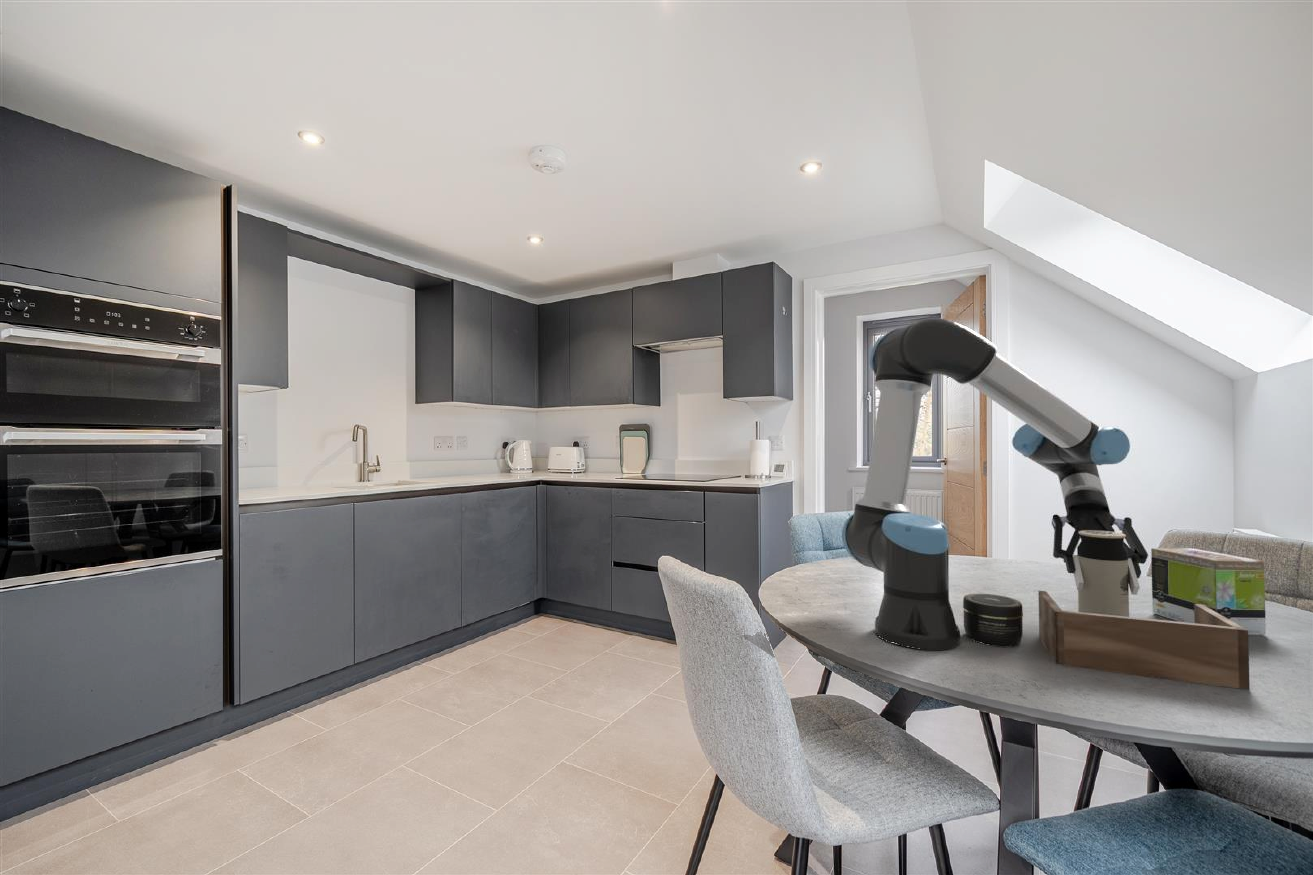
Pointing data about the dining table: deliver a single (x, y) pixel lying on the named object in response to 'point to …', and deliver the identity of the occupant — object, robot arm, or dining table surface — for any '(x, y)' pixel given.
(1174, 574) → the tea box
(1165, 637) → the walnut crate
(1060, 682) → the dining table surface
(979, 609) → the jar
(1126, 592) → the travel mug
